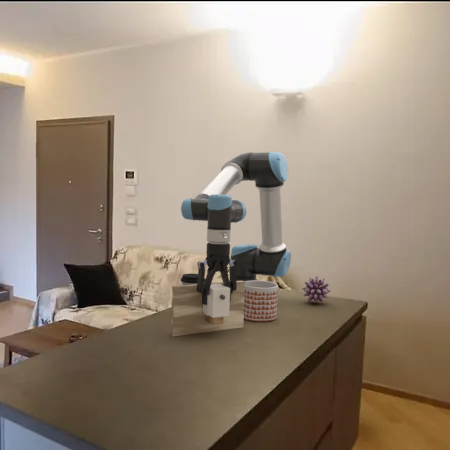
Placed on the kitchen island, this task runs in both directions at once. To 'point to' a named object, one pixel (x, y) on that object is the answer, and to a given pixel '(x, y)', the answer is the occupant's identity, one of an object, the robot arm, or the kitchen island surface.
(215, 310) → the cabinet
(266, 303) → the planter
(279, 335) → the kitchen island surface
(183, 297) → the wooden board
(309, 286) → the purple spiky ball
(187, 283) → the coffee cup
